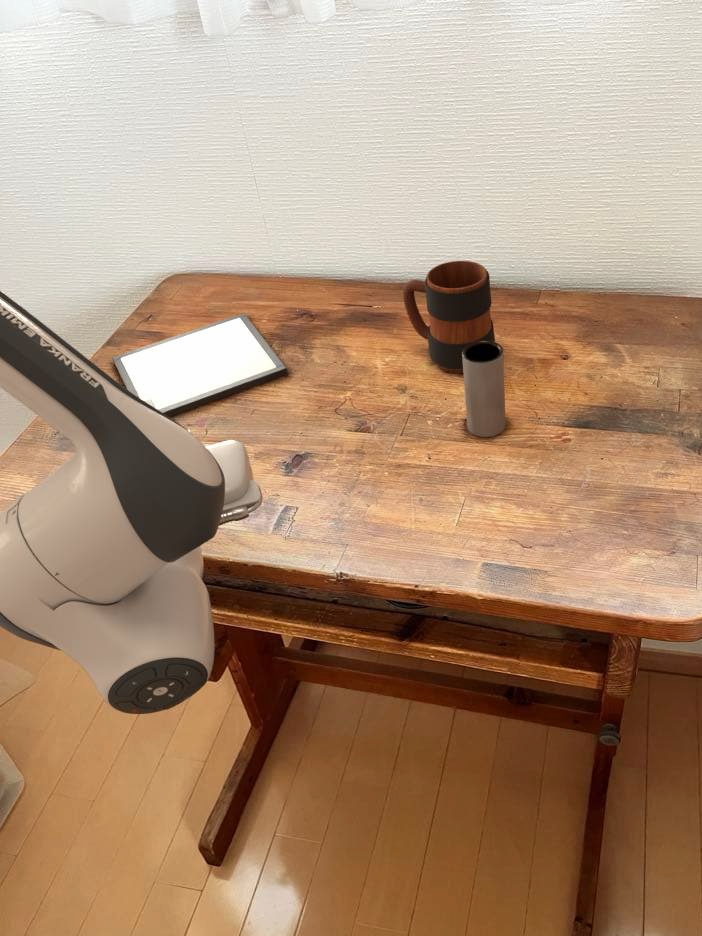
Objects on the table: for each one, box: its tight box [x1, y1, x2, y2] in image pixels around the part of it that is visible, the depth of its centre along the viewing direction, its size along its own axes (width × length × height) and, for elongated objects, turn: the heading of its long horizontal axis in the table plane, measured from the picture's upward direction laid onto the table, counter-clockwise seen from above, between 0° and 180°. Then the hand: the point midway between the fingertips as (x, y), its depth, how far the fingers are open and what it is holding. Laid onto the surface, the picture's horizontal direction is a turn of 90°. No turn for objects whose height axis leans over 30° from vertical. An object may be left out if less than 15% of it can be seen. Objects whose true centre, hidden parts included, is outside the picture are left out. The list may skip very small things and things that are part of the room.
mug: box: [402, 260, 496, 374], centre depth 106 cm, size 9×12×12 cm
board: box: [111, 312, 289, 418], centre depth 115 cm, size 20×18×1 cm
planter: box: [462, 340, 506, 438], centre depth 95 cm, size 4×4×10 cm
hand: (136, 449), depth 80 cm, fingers open, 8 cm apart
